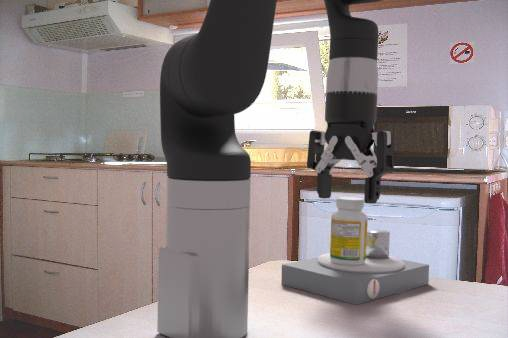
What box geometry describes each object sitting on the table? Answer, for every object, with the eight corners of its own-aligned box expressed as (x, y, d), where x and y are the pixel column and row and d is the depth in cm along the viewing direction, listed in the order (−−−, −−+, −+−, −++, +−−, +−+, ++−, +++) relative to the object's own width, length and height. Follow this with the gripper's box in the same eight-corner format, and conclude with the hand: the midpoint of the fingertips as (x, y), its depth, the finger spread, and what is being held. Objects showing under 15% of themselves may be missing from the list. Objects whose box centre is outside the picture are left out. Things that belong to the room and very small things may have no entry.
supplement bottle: (348, 267, 82) (351, 200, 82) (322, 260, 86) (324, 197, 86) (373, 263, 86) (376, 199, 85) (346, 257, 90) (348, 195, 89)
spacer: (379, 260, 88) (379, 234, 88) (357, 256, 91) (358, 231, 91) (394, 257, 91) (394, 232, 90) (373, 253, 94) (373, 228, 93)
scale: (358, 305, 76) (359, 278, 76) (281, 284, 87) (282, 260, 86) (430, 284, 88) (431, 261, 88) (355, 268, 99) (355, 247, 99)
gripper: (407, 92, 83) (402, 204, 83) (330, 95, 93) (325, 195, 94) (377, 86, 77) (371, 206, 78) (298, 91, 88) (294, 197, 88)
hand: (346, 200), depth 86 cm, fingers open, 8 cm apart
